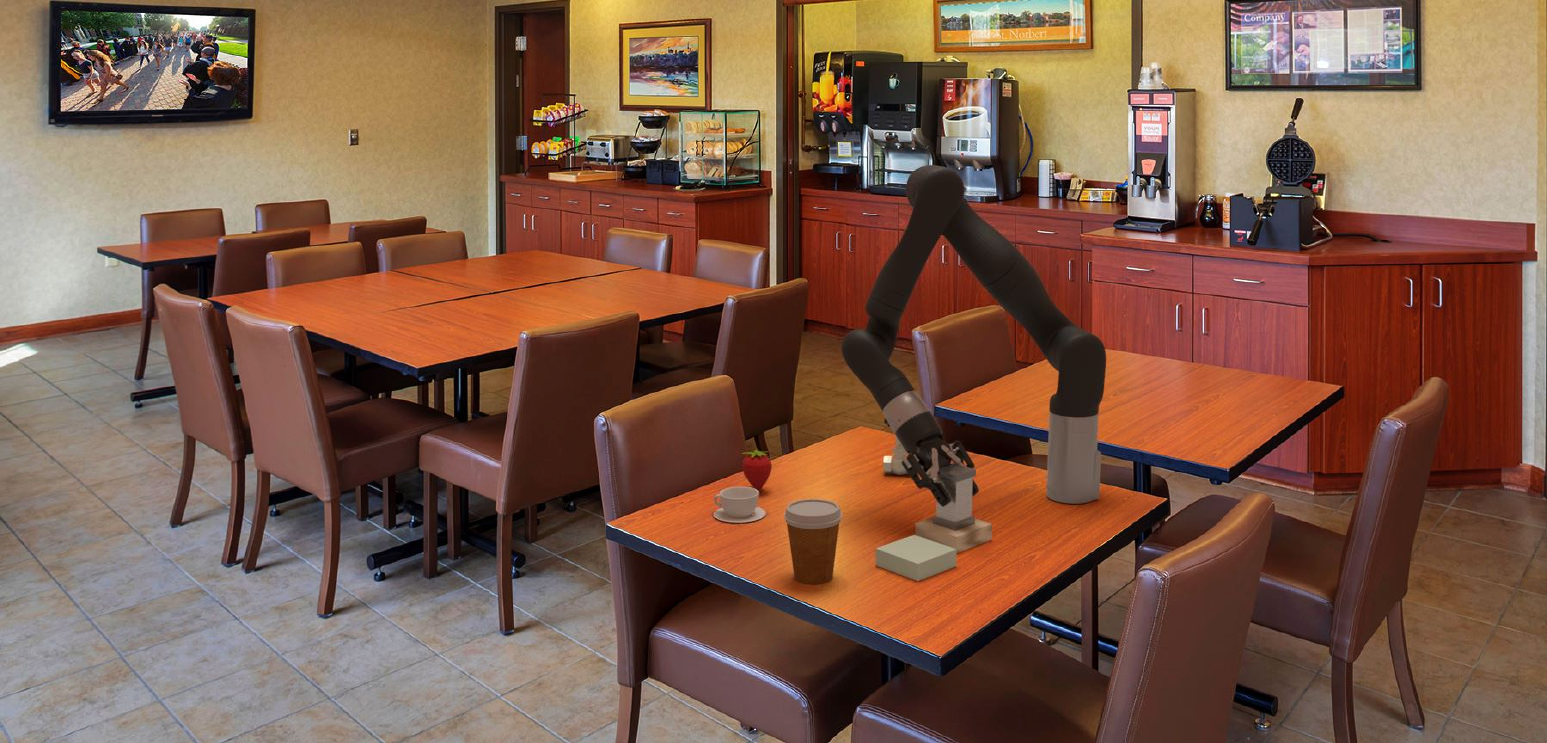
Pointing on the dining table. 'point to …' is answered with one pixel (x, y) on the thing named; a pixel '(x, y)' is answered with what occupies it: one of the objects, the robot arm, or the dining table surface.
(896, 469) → the valve
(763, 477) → the strawberry
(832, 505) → the disposable coffee cup
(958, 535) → the stand
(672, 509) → the dining table surface
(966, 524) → the grey square pillar
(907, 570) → the stand
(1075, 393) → the robot arm
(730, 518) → the teacup
